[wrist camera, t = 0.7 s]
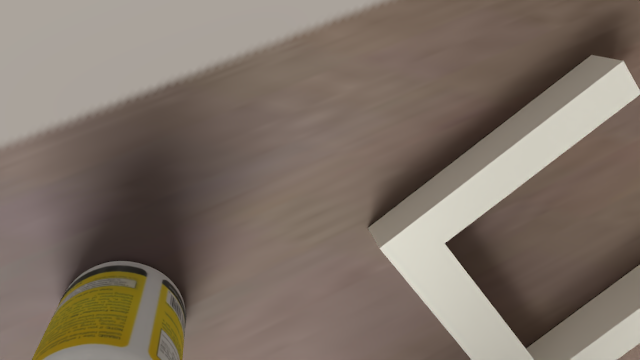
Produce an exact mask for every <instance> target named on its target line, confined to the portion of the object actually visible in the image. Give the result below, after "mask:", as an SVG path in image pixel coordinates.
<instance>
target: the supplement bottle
mask: <svg viewBox="0 0 640 360" xmlns="http://www.w3.org/2000/svg"><path fill="white" fill-rule="evenodd" d="M185 323H186V311H185V305H184V301H183V298H182V296H181V294H180V292H179V290H178V288H177V287H176V286H175V285H174V283H173V282H172V281H171V280H170V279H169V278H168V277H167V276H165V275H164V274H163V273H161V272H160V271H158V270H156V269H154V268H152V267H149V266H147V265H144V264H140V263H136V262H130V261H113V262H107V263H103V264H100V265H97V266H95V267H93V268H91V269H89V270H87V271H85V272H84V273H82V274H81V275H80V276H79V277H78V278H76V279H75V280H74V281H73V282H72V284H71V285H70V286H69V287H68V289H67V290H66V292H65V294H64V295H63V297H62V299H61V301H60V303H59V305H58V307H57V309H56V311H55V313H54V315H53V317H52V319H51V322H50V323H49V325H48V328H47V330H46V331H45V334H44V336H43V338H42V340H41V342H40V344H39V346H38V348H37V350H36V352H35V354H34V356H33V358H32V360H182V357H183V346H184V336H185Z"/></svg>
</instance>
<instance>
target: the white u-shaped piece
mask: <svg viewBox="0 0 640 360" xmlns="http://www.w3.org/2000/svg"><path fill="white" fill-rule="evenodd" d="M639 95H640V90H639V88H638V86H637V85H636V83H635V81H634V79H633V77H632V76H631V74H630V72H629V70H628V68H627V67H626V65H625V63H624V61H621V60H616V59H611V58H606V57H600V56H595V55H591V56H589V57H588V58H587V59H585V60H584V61H583V62H582V63H580V64H579V65H578V66H576V67H575V68H574V69H573V70H571V71H570V72H569V73H567V74H566V75H565V76H564V77H562V78H561V79H560V80H558V81H557V82H556V83H554V84H553V85H552V86H551V87H549V88H548V89H547V90H545V91H544V92H543V93H542V94H540V95H539V96H538V97H536V98H535V99H534V100H532V101H531V102H530V103H529V104H527V105H526V106H525V107H523V108H522V109H521V110H520V111H518V112H517V113H516V114H514V115H513V116H512V117H511V118H509V119H508V120H507V121H505V122H504V123H503V124H501V125H500V126H499V127H498V128H496V129H495V130H494V131H492V132H491V133H490V134H489V135H487V136H486V137H485V138H483V139H482V140H481V141H480V142H478V143H477V144H476V145H474V146H473V147H472V148H470V149H469V150H468V151H467V152H465V153H464V154H463V155H461V156H460V157H459V158H458V159H456V160H455V161H454V162H452V163H451V164H450V165H449V166H447V167H446V168H445V169H443V170H442V171H441V172H439V173H438V174H437V175H436V176H434V177H433V178H432V179H430V180H429V181H428V182H427V183H425V184H424V185H423V186H421V187H420V188H419V189H417V190H416V191H415V192H414V193H412V194H411V195H410V196H408V197H407V198H406V199H405V200H403V201H402V202H401V203H399V204H398V205H397V206H396V207H394V208H393V209H392V210H390V211H389V212H388V213H386V214H385V215H384V216H383V217H381V218H380V219H379V220H377V221H376V222H375V223H374V224H372V225H371V226H370V227H368V230H369V231H370V233H371V235H372V236H373V238H374V240H375V241H376V243H377V245H378V246H379V248H380V249H381V251H382V252H383V253H384V254H385V255H386V257H387V258H388V259H389V260H390V261H391V263H392V264H393V265H394V266H395V267H396V269H397V270H398V271H399V272H400V274H401V275H402V276H403V277H404V278H405V280H406V281H407V282H408V283H409V284H410V286H411V287H412V288H413V289H414V291H415V292H416V293H417V294H418V295H419V297H420V298H421V299H422V300H423V301H424V303H425V304H426V305H427V306H428V308H429V309H430V310H431V311H432V312H433V314H434V315H435V316H436V317H437V318H438V320H439V321H440V322H441V323H442V324H443V326H444V327H445V328H446V329H447V331H448V332H449V333H450V334H451V335H452V337H453V338H454V339H455V340H456V341H457V343H458V344H459V345H460V346H461V348H462V349H463V350H464V351H465V352H466V354H467V355H468V356H469V357H470V358H471V360H617V359H618V358H620V357H621V356H623V355H624V354H625V353H627V352H628V351H629V350H631V349H632V348H633V347H635V346H636V345H638V344H639V343H640V265H638V266H637V267H636V268H634V269H633V270H632V271H630V272H629V273H628V274H626V275H625V276H623V277H622V278H621V279H619V280H618V281H617V282H615V283H614V284H613V285H611V286H610V287H609V288H607V289H606V290H605V291H603V292H602V293H600V294H599V295H598V296H596V297H595V298H594V299H592V300H591V301H590V302H588V303H587V304H586V305H584V306H583V307H582V308H580V309H579V310H577V311H576V312H575V313H573V314H572V315H571V316H569V317H568V318H567V319H565V320H564V321H563V322H561V323H560V324H559V325H557V326H556V327H554V328H553V329H552V330H550V331H549V332H548V333H546V334H545V335H544V336H542V337H541V338H540V339H538V340H537V341H536V342H534V343H533V344H531V345H530V346H529V347H527V348H525V347H524V346H523V344H522V343H521V342H520V341H519V339H518V338H517V337H516V335H515V334H514V333H513V332H512V330H511V329H510V328H509V326H508V325H507V324H506V322H505V321H504V320H503V319H502V317H501V316H500V315H499V313H498V312H497V311H496V309H495V308H494V307H493V306H492V304H491V303H490V302H489V300H488V299H487V298H486V297H485V295H484V294H483V293H482V291H481V290H480V289H479V287H478V286H477V285H476V284H475V282H474V281H473V280H472V278H471V277H470V276H469V275H468V273H467V272H466V271H465V269H464V268H463V267H462V265H461V264H460V263H459V262H458V260H457V259H456V258H455V256H454V255H453V254H452V252H451V251H450V250H449V249H448V247H447V246H446V245H445V243H446V242H447V241H449V240H450V239H451V238H452V237H454V236H455V235H456V234H458V233H459V232H460V231H462V230H463V229H464V228H466V227H467V226H468V225H469V224H471V223H472V222H473V221H475V220H476V219H477V218H479V217H480V216H481V215H483V214H484V213H485V212H487V211H488V210H489V209H490V208H492V207H493V206H494V205H496V204H497V203H498V202H500V201H501V200H502V199H504V198H505V197H506V196H508V195H509V194H510V193H511V192H513V191H514V190H515V189H517V188H518V187H519V186H521V185H522V184H523V183H525V182H526V181H527V180H528V179H530V178H531V177H532V176H534V175H535V174H536V173H538V172H539V171H540V170H542V169H543V168H544V167H546V166H547V165H548V164H549V163H551V162H552V161H553V160H555V159H556V158H557V157H559V156H560V155H561V154H563V153H564V152H565V151H566V150H568V149H569V148H570V147H572V146H573V145H574V144H576V143H577V142H578V141H580V140H581V139H582V138H584V137H585V136H586V135H587V134H589V133H590V132H591V131H593V130H594V129H595V128H597V127H598V126H599V125H601V124H602V123H603V122H604V121H606V120H607V119H608V118H610V117H611V116H612V115H614V114H615V113H616V112H618V111H619V110H620V109H622V108H623V107H624V106H625V105H627V104H628V103H629V102H631V101H632V100H633V99H635V98H636V97H637V96H639Z"/></svg>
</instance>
